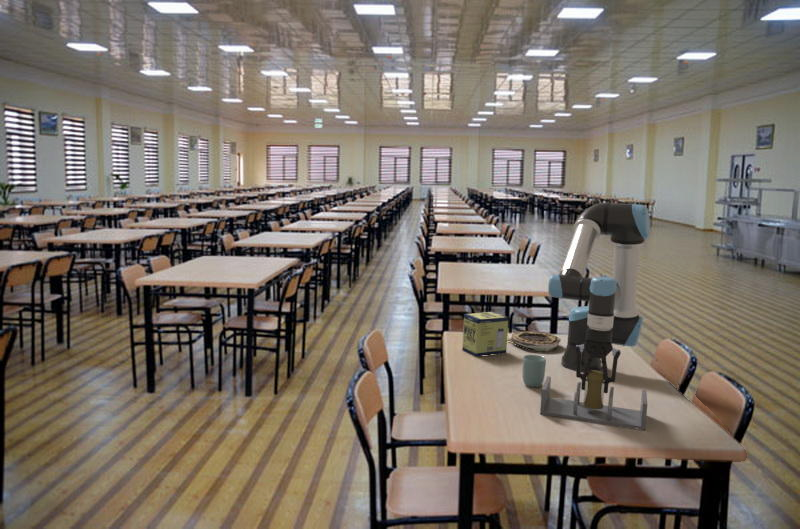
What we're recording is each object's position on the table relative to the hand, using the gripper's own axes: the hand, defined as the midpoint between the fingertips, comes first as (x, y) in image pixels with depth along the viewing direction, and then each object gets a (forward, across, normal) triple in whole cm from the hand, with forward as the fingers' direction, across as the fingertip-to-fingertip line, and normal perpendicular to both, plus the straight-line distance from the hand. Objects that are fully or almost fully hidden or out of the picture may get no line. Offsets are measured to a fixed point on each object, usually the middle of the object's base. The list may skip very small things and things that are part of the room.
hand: (593, 401), depth 201 cm
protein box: (+4, -46, +54) cm, 71 cm away
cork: (+2, 0, 0) cm, 2 cm away
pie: (+5, -28, +74) cm, 79 cm away
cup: (+4, -21, +20) cm, 29 cm away
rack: (+4, 0, 0) cm, 4 cm away
